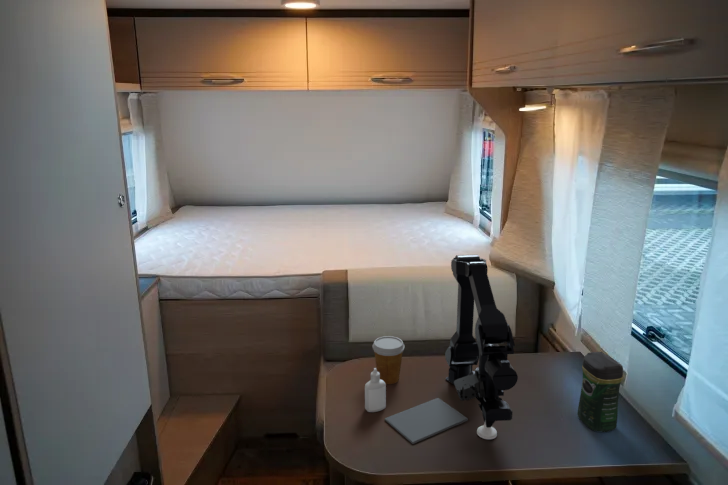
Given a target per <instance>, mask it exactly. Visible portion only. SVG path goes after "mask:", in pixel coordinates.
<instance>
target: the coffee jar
mask: <svg viewBox="0 0 728 485" xmlns="http://www.w3.org/2000/svg"><path fill="white" fill-rule="evenodd" d="M581 365H582V368H581V369H582V381H581V388H580V396H579V400H578V401H579V402H578V406H577V414H576V415H577V417H578V418H579V420H580V421H581V423H583V425H585V426H586V427H587V428H589V429H590V430H591V431H594V432H600V433H609V432H612V431H614V430H616V428H617V426H618V425H617V424H618V416H619V415H618V414H619V413H618V410H619V398H620V396H619V395H620V387H621V382H622V381H623V378H624V366H623V365H622V363H620V362H618V361H617V360H616V359H614V358H613V357H611V356H609V355H608V354H606V353H604V352H603V351H592V352H587V353H586V355H584V357H583V360H582V364H581Z"/></svg>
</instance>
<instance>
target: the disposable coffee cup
mask: <svg viewBox="0 0 728 485" xmlns="http://www.w3.org/2000/svg"><path fill="white" fill-rule="evenodd" d="M404 350H405V344H404V342H403V340H402V339H401V338H400V337H397V336H392V335H385V336H379V337H377V338H376V339H375V340H373V344H372V351H373V352H374V359H375V366H376V367H375V368H376V369H377V372H379V373H380V379H381V380H383V381H384V382H385V384H386V385H393V384H396V383H397V382H399V380H400V373H401V368H402V367H401V366H402V361H403V360H402V359H403V353H404Z"/></svg>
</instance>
